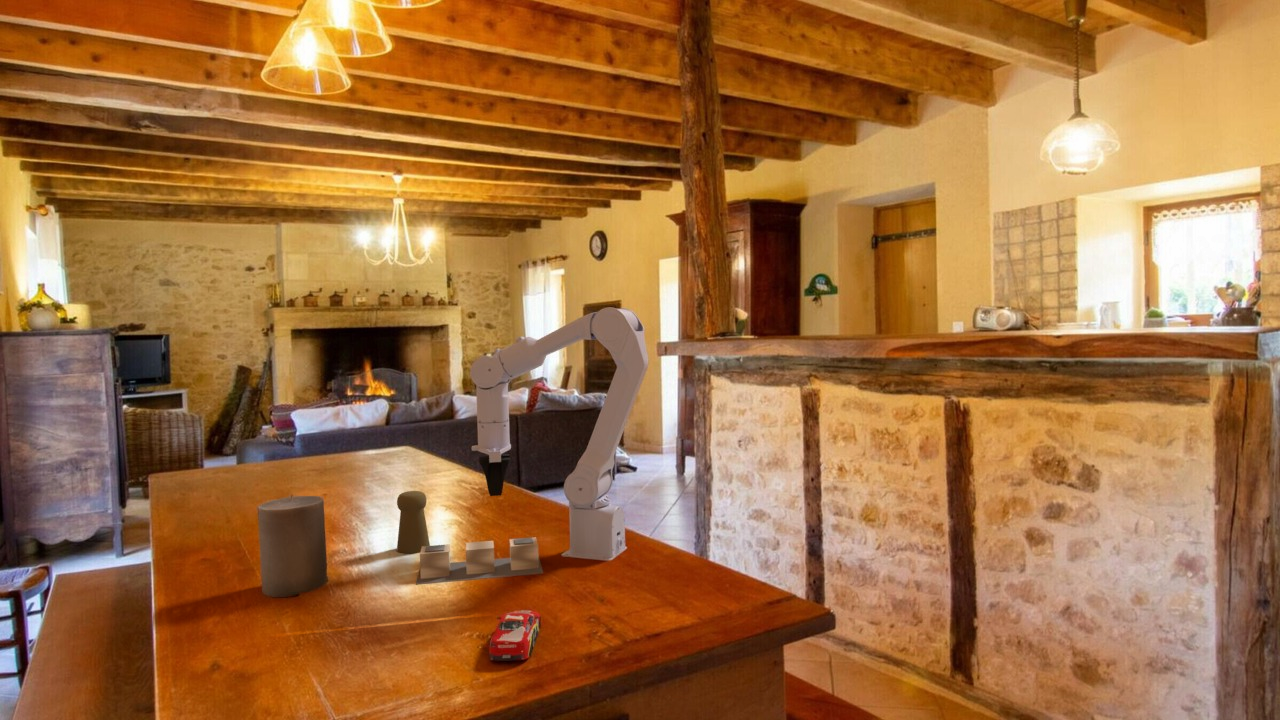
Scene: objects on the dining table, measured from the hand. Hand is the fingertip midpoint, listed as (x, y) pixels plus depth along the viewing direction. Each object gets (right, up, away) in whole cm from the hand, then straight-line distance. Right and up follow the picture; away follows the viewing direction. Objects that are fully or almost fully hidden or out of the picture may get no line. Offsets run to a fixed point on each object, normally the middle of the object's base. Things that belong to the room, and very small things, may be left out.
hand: (495, 495), depth 139 cm
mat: (0, -11, -13) cm, 17 cm away
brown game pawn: (-15, -11, 0) cm, 18 cm away
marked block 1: (-7, -10, -14) cm, 19 cm away
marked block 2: (+7, -10, -11) cm, 16 cm away
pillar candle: (-28, -12, -19) cm, 36 cm away
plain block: (0, -10, -13) cm, 16 cm away
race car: (+11, -12, -42) cm, 45 cm away
